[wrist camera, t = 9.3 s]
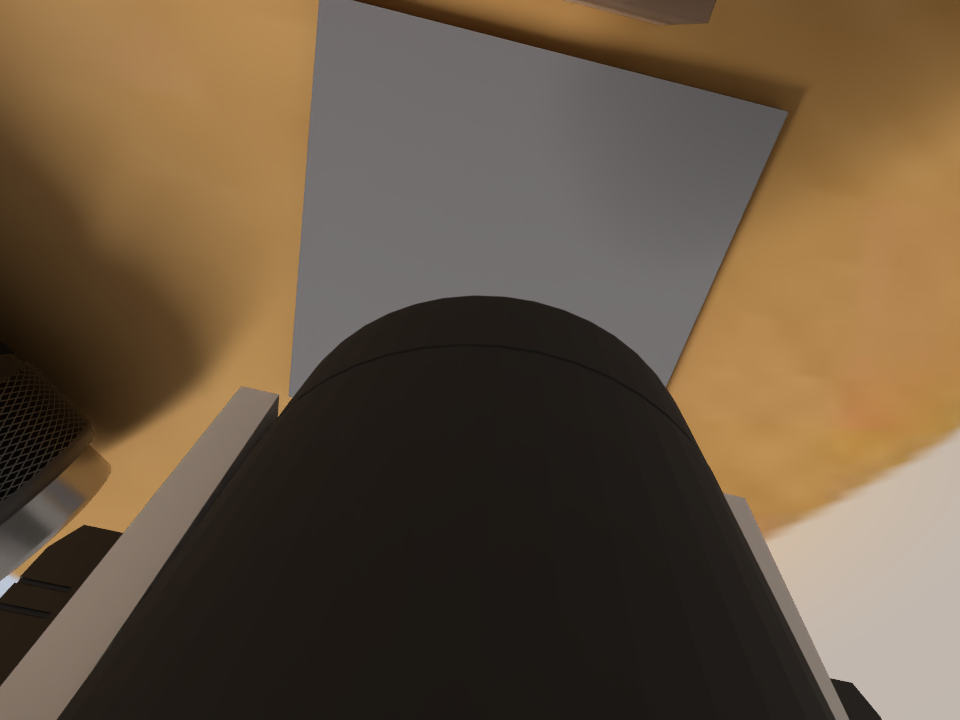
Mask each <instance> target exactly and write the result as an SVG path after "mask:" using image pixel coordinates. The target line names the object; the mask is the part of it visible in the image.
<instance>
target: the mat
mask: <svg viewBox="0 0 960 720" xmlns="http://www.w3.org/2000/svg"><path fill="white" fill-rule="evenodd" d="M787 115H788V111H784V110H781V109H777V108H773V107H769V106H765V105H761V104H757V103H754V102H750V101H746V100H742V99H738V98H734V97H730V96H726V95H722V94H718V93H714V92H711V91H707V90H703V89H699V88H695V87H691V86H687V85H683V84H679V83H675V82H671V81H668V80H664V79H660V78H656V77H652V76H648V75H644V74H640V73H636V72H632V71H628V70H625V69H621V68H617V67H613V66H609V65H605V64H601V63H597V62H593V61H589V60H585V59H582V58H578V57H574V56H570V55H566V54H562V53H558V52H554V51H550V50H546V49H542V48H539V47H535V46H531V45H527V44H523V43H519V42H515V41H511V40H507V39H503V38H499V37H496V36H492V35H488V34H484V33H480V32H476V31H472V30H468V29H464V28H460V27H456V26H453V25H449V24H445V23H441V22H437V21H433V20H429V19H425V18H421V17H417V16H413V15H410V14H406V13H402V12H398V11H394V10H390V9H386V8H382V7H378V6H374V5H370V4H367V3H363V2H359V1H355V0H319V9H318V22H317V35H316V48H315V61H314V74H313V87H312V100H311V113H310V126H309V139H308V152H307V166H306V179H305V192H304V205H303V218H302V231H301V244H300V257H299V270H298V283H297V296H296V309H295V322H294V335H293V348H292V361H291V374H290V387H289V397H294V395H295V394H296V393H297V391H298V390H299V389H300V387H301V386H302V385H303V384H304V382H305V381H306V380H307V378H308V377H309V376H310V374H311V373H312V372H313V371H314V369H315V368H316V367H317V366H318V364H319V363H320V362H321V361H322V360H323V359H324V358H325V357H326V356H327V355H328V354H329V353H330V352H331V351H333V350H334V349H335V348H336V347H337V346H338V345H339V344H340V343H341V342H342V341H343V340H345V339H346V338H348V337H349V336H351V335H352V334H353V333H355V332H356V331H358V330H359V329H361V328H362V327H363V326H365V325H367V324H369V323H371V322H373V321H375V320H377V319H379V318H381V317H382V316H384V315H386V314H388V313H391V312H394V311H397V310H400V309H402V308H405V307H408V306H411V305H414V304H417V303H422V302H427V301H432V300H436V299H441V298H449V297H461V296H473V295H477V296H503V297H510V298H517V299H523V300H529V301H535V302H539V303H542V304H545V305H549V306H552V307H556V308H559V309H563V310H565V311H568V312H570V313H572V314H574V315H577V316H579V317H581V318H584V319H586V320H588V321H591V322H592V323H594V324H596V325H597V326H599V327H601V328H602V329H604V330H606V331H607V332H609V333H611V334H612V335H614V336H616V337H617V338H618V339H619V340H621V341H622V342H623V343H625V344H626V345H627V346H628V347H630V348H631V349H632V350H633V351H635V352H636V353H637V354H638V355H639V356H640V357H641V358H642V359H643V360H644V361H645V363H646V364H647V365H648V366H649V367H650V368H651V369H652V370H653V371H654V372H655V373H656V374H657V376H658V377H659V379H660V380H661V382H662V383H663V385H664V386H665V387H666V386H667V383H668V381H669V379H670V377H671V375H672V372H673V370H674V368H675V366H676V363H677V361H678V359H679V357H680V354H681V352H682V350H683V348H684V345H685V343H686V341H687V339H688V336H689V334H690V332H691V330H692V327H693V325H694V323H695V321H696V318H697V316H698V314H699V312H700V310H701V307H702V305H703V303H704V301H705V298H706V296H707V294H708V292H709V289H710V287H711V285H712V283H713V280H714V278H715V276H716V274H717V271H718V269H719V267H720V265H721V262H722V260H723V258H724V256H725V253H726V251H727V249H728V247H729V245H730V242H731V240H732V238H733V236H734V233H735V231H736V229H737V227H738V224H739V222H740V220H741V218H742V215H743V213H744V211H745V209H746V206H747V204H748V202H749V200H750V197H751V195H752V193H753V191H754V188H755V186H756V184H757V182H758V180H759V177H760V175H761V173H762V171H763V168H764V166H765V164H766V162H767V159H768V157H769V155H770V153H771V150H772V148H773V146H774V144H775V141H776V139H777V137H778V135H779V132H780V130H781V128H782V126H783V123H784V121H785V119H786V117H787Z"/></svg>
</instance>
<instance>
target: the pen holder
mask: <svg viewBox="0 0 960 720" xmlns="http://www.w3.org/2000/svg"><path fill="white" fill-rule="evenodd" d="M57 720H836V719H835V717H834V715H833V713H832V711H831V709H830V707H829V705H828V703H827V701H826V699H825V697H824V695H823V693H822V691H821V689H820V687H819V685H818V683H817V681H816V679H815V677H814V675H813V673H812V671H811V669H810V667H809V665H808V663H807V661H806V659H805V657H804V655H803V653H802V651H801V649H800V647H799V645H798V643H797V641H796V639H795V637H794V635H793V633H792V631H791V629H790V627H789V625H788V623H787V621H786V619H785V617H784V615H783V613H782V611H781V609H780V607H779V604H778V602H777V600H776V598H775V596H774V594H773V592H772V590H771V588H770V586H769V584H768V582H767V580H766V578H765V576H764V574H763V572H762V570H761V568H760V566H759V564H758V562H757V560H756V558H755V556H754V554H753V552H752V550H751V548H750V546H749V544H748V542H747V540H746V538H745V536H744V534H743V532H742V530H741V528H740V526H739V524H738V522H737V520H736V518H735V516H734V514H733V512H732V510H731V508H730V506H729V504H728V502H727V500H726V498H725V496H724V494H723V492H722V490H721V488H720V486H719V484H718V482H717V480H716V478H715V476H714V474H713V472H712V470H711V469H710V467H709V465H708V464H707V462H706V460H705V458H704V456H703V454H702V452H701V450H700V448H699V446H698V445H697V443H696V441H695V439H694V437H693V435H692V433H691V431H690V429H689V427H688V425H687V423H686V421H685V419H684V418H683V416H682V414H681V412H680V410H679V408H678V406H677V405H676V403H675V401H674V399H673V398H672V396H671V395H670V393H669V392H668V390H667V389H666V387H665V386H664V385H663V383H662V382H661V380H660V379H659V377H658V376H657V374H656V373H655V372H654V371H653V370H652V369H651V368H650V367H649V366H648V365H647V364H646V363H645V361H644V360H643V359H642V358H641V357H640V356H639V355H638V354H637V353H636V352H635V351H633V350H632V349H631V348H630V347H628V346H627V345H626V344H625V343H623V342H622V341H621V340H619V339H618V338H617V337H616V336H614V335H612V334H611V333H609V332H607V331H606V330H604V329H602V328H601V327H599V326H597V325H596V324H594V323H592V322H591V321H588V320H586V319H584V318H581V317H579V316H577V315H574V314H572V313H570V312H568V311H565V310H563V309H559V308H556V307H552V306H549V305H545V304H542V303H539V302H535V301H529V300H523V299H517V298H510V297H503V296H477V295H473V296H461V297H449V298H441V299H436V300H432V301H427V302H422V303H417V304H414V305H411V306H408V307H405V308H402V309H400V310H397V311H394V312H391V313H388V314H386V315H384V316H382V317H381V318H379V319H377V320H375V321H373V322H371V323H369V324H367V325H365V326H363V327H362V328H361V329H359V330H358V331H356V332H355V333H353V334H352V335H351V336H349V337H348V338H346V339H345V340H343V341H342V342H341V343H340V344H339V345H338V346H337V347H336V348H335V349H334V350H333V351H331V352H330V353H329V354H328V355H327V356H326V357H325V358H324V359H323V360H322V361H321V362H320V363H319V364H318V366H317V367H316V368H315V369H314V371H313V372H312V373H311V374H310V376H309V377H308V378H307V380H306V381H305V382H304V384H303V385H302V386H301V387H300V389H299V390H298V391H297V393H296V394H295V395H294V397H293V398H292V399H291V401H290V402H289V403H288V405H287V406H286V407H285V409H284V410H283V411H282V413H281V414H280V415H279V417H278V418H277V419H276V420H275V421H274V422H273V424H272V425H271V426H270V428H269V429H268V430H267V432H266V433H265V434H264V436H263V437H262V438H261V440H260V441H259V442H258V443H257V445H256V446H255V447H254V449H253V450H252V451H251V453H250V454H249V456H248V457H247V458H246V460H245V461H244V462H243V464H242V465H241V467H240V468H239V469H238V471H237V472H236V473H235V475H234V476H233V478H232V479H231V480H230V482H229V483H228V484H227V486H226V487H225V489H224V490H223V491H222V493H221V494H220V495H219V497H218V498H217V500H216V501H215V502H214V504H213V505H212V506H211V508H210V509H209V511H208V512H207V513H206V515H205V516H204V517H203V519H202V520H201V522H200V523H199V524H198V526H197V527H196V528H195V530H194V531H193V533H192V534H191V535H190V537H189V538H188V539H187V541H186V542H185V544H184V545H183V546H182V548H181V549H180V550H179V552H178V553H177V555H176V556H175V557H174V559H173V560H172V561H171V563H170V564H169V566H168V567H167V568H166V570H165V571H164V572H163V574H162V575H161V577H160V578H159V579H158V581H157V582H156V583H155V585H154V586H153V588H152V589H151V590H150V592H149V593H148V594H147V596H146V597H145V599H144V600H143V601H142V603H141V604H140V605H139V607H138V608H137V610H136V611H135V612H134V614H133V615H132V616H131V618H130V619H129V621H128V622H127V623H126V625H125V626H124V627H123V629H122V630H121V632H120V633H119V634H118V636H117V637H116V638H115V640H114V641H113V643H112V644H111V645H110V647H109V648H108V649H107V651H106V652H105V654H104V655H103V656H102V658H101V659H100V660H99V662H98V663H97V665H96V666H95V667H94V669H93V670H92V671H91V673H90V674H89V676H88V677H87V678H86V680H85V681H84V682H83V684H82V685H81V687H80V688H79V689H78V691H77V692H76V693H75V695H74V696H73V698H72V699H71V700H70V702H69V703H68V704H67V706H66V707H65V709H64V710H63V711H62V713H61V714H60V715H59V717H58V718H57Z"/></svg>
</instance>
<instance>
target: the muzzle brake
mask: <svg viewBox="0 0 960 720" xmlns="http://www.w3.org/2000/svg"><path fill="white" fill-rule="evenodd" d="M13 355H14V354H13V352H12V351H11V350H10V349H9V348H8V347H7V346H6V345H5V344H4V343H3V342H2V341H1V340H0V581H1V580H2V579H3V578H5V577H6V576H7V575H9V574H10V573H11V572H12V571H14V570H15V569H16V568H18V567H19V566H20V565H21V564H23V563H24V562H25V561H26V560H27V559H29V558H30V557H31V556H32V555H34V554H35V553H36V552H37V551H38V550H40V549H41V548H42V547H43V546H44V545H45V544H46V543H48V542H49V541H50V540H51V539H52V538H53V537H54V536H56V535H57V534H58V533H59V532H60V531H61V530H62V529H63V528H64V527H65V526H66V525H67V524H68V523H69V522H70V521H71V520H73V519H74V518H75V517H76V516H77V514H78V513H79V512H80V511H81V510H82V509H83V508H84V507H85V506H86V505H87V504H88V503H89V502H90V501H91V500H92V498H93V497H94V496H95V495H96V494H97V493H98V491H99V490H100V489H101V487H102V486H103V485H104V483H105V482H106V480H107V478H108V476H109V474H110V473H111V466H110V464H109V463H108V462H107V461H106V460H105V459H104V458H103V457H102V456H101V455H100V454H99V453H98V452H97V451H96V450H94V449H93V448H92V447H91V446H90V445H89V444H90V442H91V441H92V439H93V436H94V434H93V430H92V425H91V422H90V420H89V419H88V418H87V417H86V416H85V415H84V414H83V413H82V412H81V411H80V410H79V409H78V408H77V407H76V406H75V405H74V404H73V403H72V402H71V401H70V400H69V399H68V398H67V397H66V396H65V395H64V394H63V393H61V392H60V391H59V390H58V389H57V388H56V387H55V386H54V385H53V384H52V383H51V382H50V381H49V380H48V379H47V378H46V377H45V376H44V375H43V374H42V373H41V372H40V371H39V370H38V369H37V368H36V367H35V366H34V365H33V364H32V363H30V362H29V361H20V360H18V359H17V358H16V357H14V356H13Z"/></svg>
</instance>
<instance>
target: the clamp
mask: <svg viewBox="0 0 960 720" xmlns="http://www.w3.org/2000/svg"><path fill="white" fill-rule="evenodd" d="M565 1H568V2H572V3H576V4H580V5H584V6H588V7H591V8H595V9H599V10H603V11H607V12H611V13H615V14H618V15H622V16H626V17H630V18H634V19H638V20H641V21H645V22H649V23H653V24H657V25H675V24H701V23H708V22H709V19H710V16H711V13H712V10H713V8H714V5H715V2H716V0H565Z"/></svg>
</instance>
